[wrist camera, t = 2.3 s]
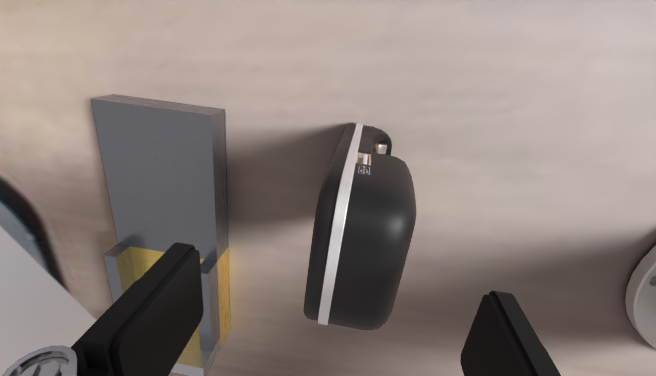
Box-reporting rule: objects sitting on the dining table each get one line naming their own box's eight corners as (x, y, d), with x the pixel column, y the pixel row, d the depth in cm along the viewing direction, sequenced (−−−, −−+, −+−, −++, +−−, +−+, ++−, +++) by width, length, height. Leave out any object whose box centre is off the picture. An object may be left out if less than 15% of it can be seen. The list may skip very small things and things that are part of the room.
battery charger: (384, 221, 24) (389, 359, 13) (332, 212, 24) (297, 339, 14) (406, 126, 21) (434, 206, 10) (347, 117, 21) (316, 186, 11)
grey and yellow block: (224, 109, 22) (185, 125, 17) (230, 328, 30) (203, 379, 26) (113, 94, 23) (47, 106, 18) (148, 312, 31) (108, 359, 26)
